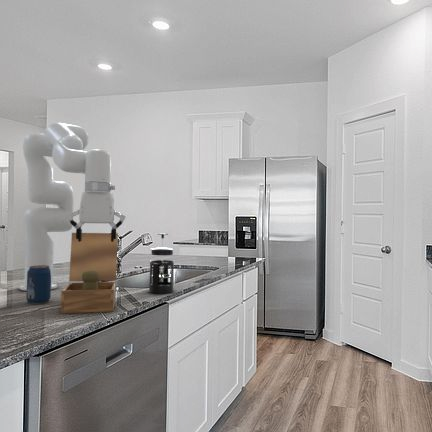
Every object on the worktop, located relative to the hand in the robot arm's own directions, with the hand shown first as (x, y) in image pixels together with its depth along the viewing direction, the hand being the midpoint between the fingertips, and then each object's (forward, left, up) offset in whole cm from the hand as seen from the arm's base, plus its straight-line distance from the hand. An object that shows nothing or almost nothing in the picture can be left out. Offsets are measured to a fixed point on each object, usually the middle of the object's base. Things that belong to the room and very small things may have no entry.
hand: (96, 241), depth 138 cm
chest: (-1, -1, -21) cm, 21 cm away
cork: (0, -1, -21) cm, 21 cm away
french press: (-24, +22, -22) cm, 39 cm away
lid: (-9, -1, -6) cm, 11 cm away
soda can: (-11, -18, -22) cm, 30 cm away
